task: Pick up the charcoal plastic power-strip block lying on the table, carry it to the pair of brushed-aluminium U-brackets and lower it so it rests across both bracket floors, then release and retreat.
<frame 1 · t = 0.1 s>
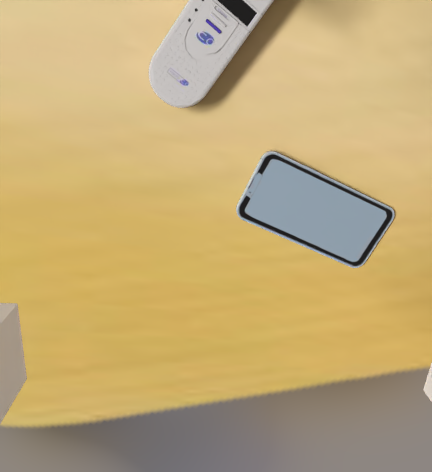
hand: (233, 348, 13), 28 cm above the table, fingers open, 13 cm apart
electronic device: (215, 26, 35), on the table
smartphone: (313, 210, 41), on the table
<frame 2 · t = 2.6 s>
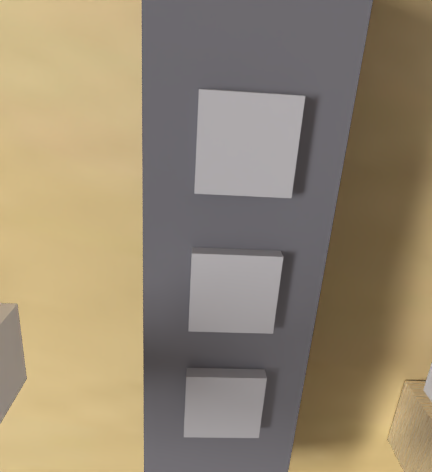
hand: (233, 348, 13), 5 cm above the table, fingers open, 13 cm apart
power strip: (218, 260, 18), on the table
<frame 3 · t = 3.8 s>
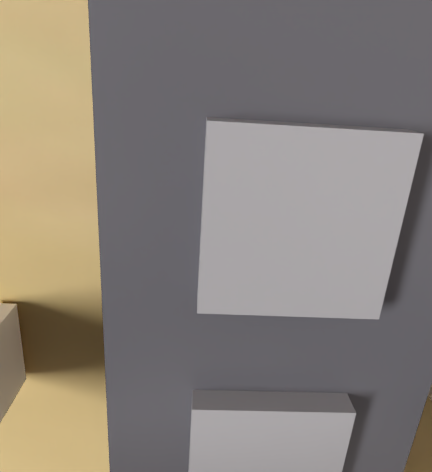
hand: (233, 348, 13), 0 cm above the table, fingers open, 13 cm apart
power strip: (229, 335, 13), on the table
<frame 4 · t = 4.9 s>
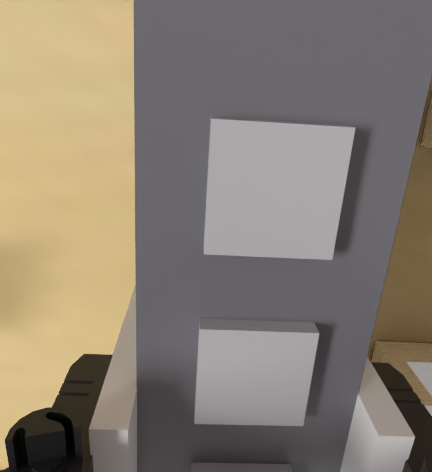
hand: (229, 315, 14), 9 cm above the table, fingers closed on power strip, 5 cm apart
power strip: (227, 307, 15), point 8 cm above the table, touching gripper
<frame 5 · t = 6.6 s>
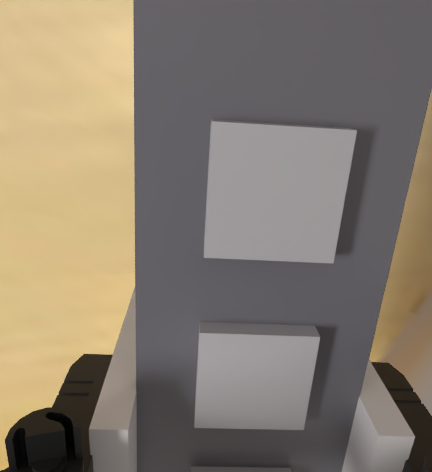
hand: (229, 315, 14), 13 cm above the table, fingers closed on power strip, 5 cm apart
power strip: (228, 309, 15), point 12 cm above the table, touching gripper
when the fingers open (2 cm above the table, at t = 8.5 s): power strip stays where it is, resting on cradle.
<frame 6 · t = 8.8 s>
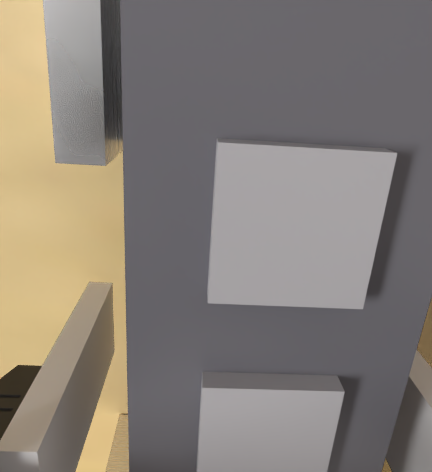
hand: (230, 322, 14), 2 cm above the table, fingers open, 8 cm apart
power strip: (232, 331, 14), point 2 cm above the table, touching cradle
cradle: (227, 296, 16), on the table
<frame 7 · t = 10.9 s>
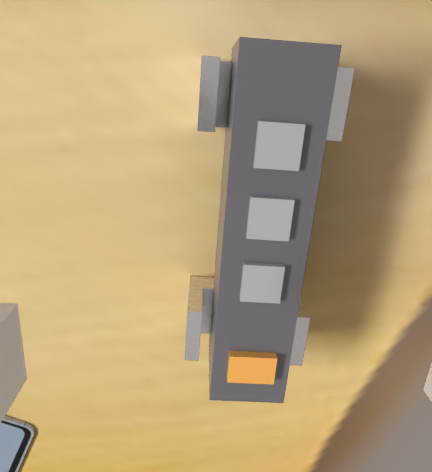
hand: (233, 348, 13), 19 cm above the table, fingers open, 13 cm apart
power strip: (253, 218, 29), point 2 cm above the table, touching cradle
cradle: (250, 208, 31), on the table
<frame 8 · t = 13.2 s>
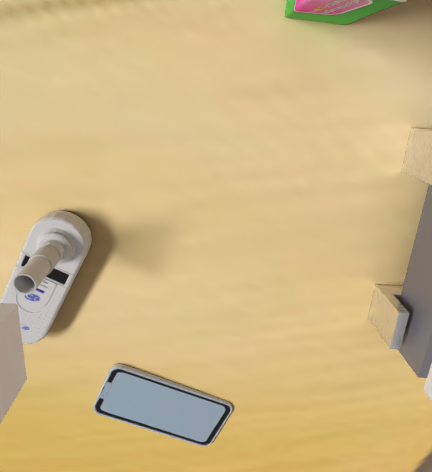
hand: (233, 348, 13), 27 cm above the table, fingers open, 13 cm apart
electronic device: (48, 272, 41), on the table
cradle: (428, 232, 40), on the table
smartphone: (164, 402, 48), on the table
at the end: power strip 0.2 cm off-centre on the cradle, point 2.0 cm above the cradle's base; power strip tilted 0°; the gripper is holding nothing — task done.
